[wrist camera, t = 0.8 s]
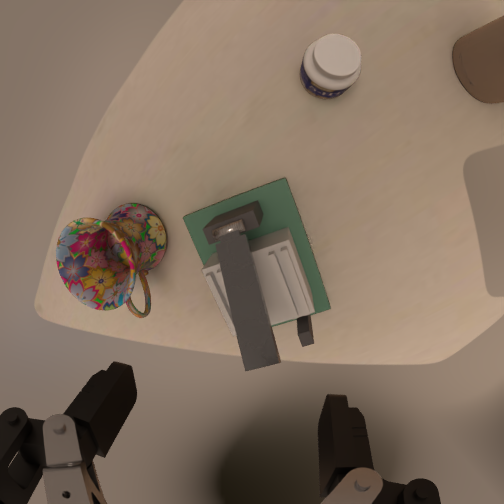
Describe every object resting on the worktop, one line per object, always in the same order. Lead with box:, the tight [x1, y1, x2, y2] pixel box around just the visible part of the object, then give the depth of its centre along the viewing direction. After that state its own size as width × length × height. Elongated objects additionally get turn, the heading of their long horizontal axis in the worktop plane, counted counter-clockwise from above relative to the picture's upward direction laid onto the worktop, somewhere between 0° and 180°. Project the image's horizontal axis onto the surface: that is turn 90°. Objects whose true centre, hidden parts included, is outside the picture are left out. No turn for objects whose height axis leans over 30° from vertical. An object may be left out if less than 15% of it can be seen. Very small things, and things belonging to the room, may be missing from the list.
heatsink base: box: [183, 178, 331, 347], centre depth 33 cm, size 12×16×8 cm
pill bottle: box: [300, 34, 361, 99], centre depth 25 cm, size 5×5×9 cm
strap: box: [212, 219, 281, 371], centre depth 26 cm, size 3×12×1 cm
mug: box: [56, 203, 166, 318], centre depth 33 cm, size 12×9×11 cm
